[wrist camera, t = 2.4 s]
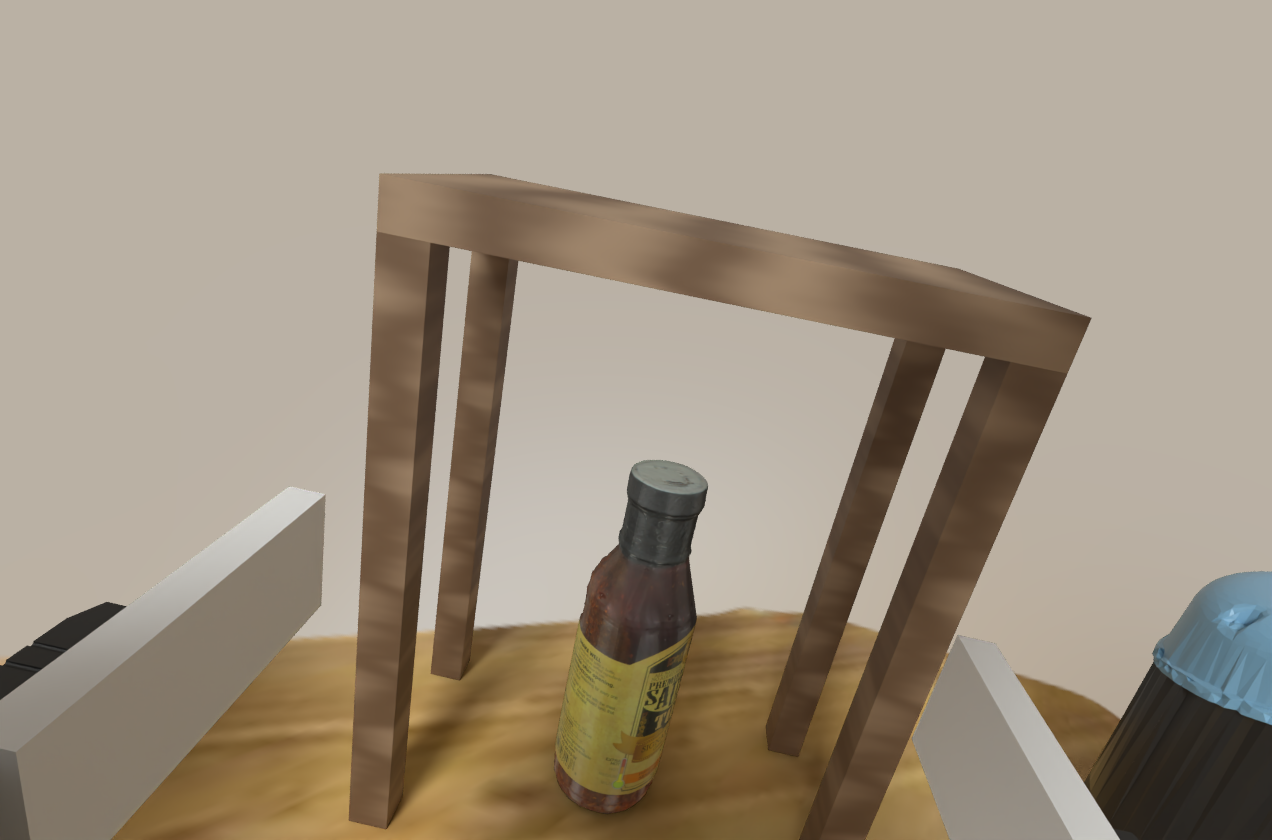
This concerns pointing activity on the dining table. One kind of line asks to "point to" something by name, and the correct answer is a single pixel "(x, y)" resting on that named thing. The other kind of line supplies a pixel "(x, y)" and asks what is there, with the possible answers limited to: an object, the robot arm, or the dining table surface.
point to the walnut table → (724, 272)
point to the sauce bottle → (631, 644)
